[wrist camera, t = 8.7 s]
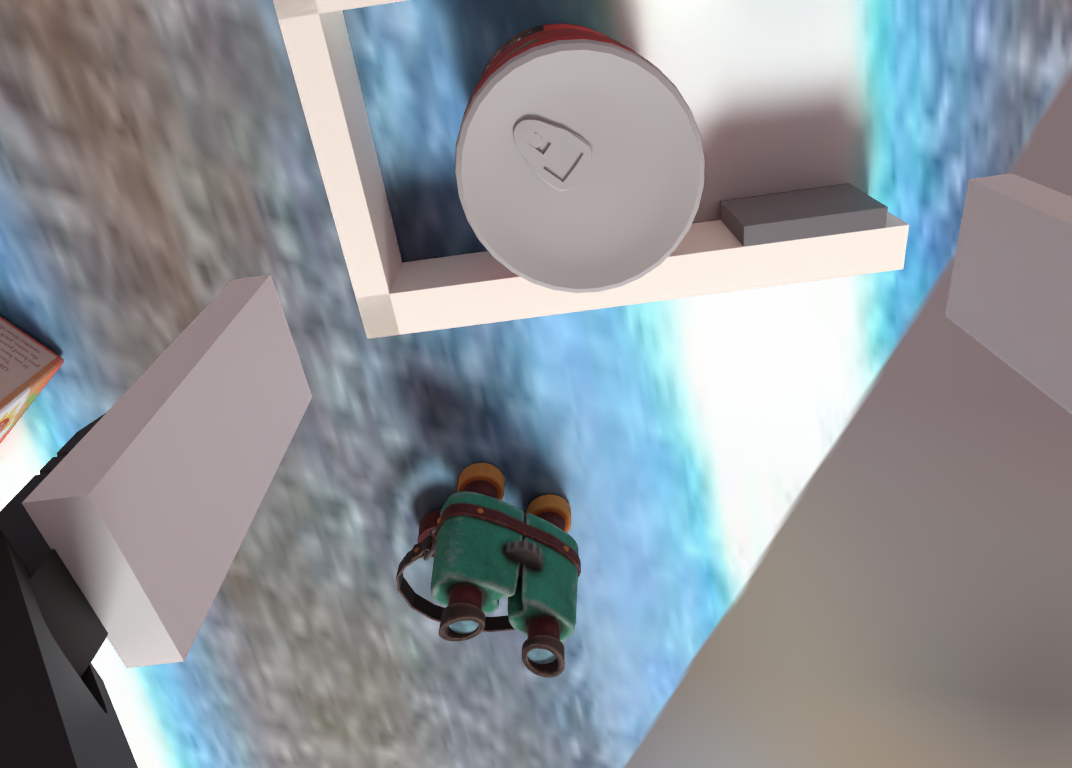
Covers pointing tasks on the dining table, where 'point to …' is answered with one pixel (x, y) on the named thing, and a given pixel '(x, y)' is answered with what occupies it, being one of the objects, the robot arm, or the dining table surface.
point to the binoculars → (500, 568)
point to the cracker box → (21, 373)
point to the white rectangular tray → (500, 295)
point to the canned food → (577, 160)
